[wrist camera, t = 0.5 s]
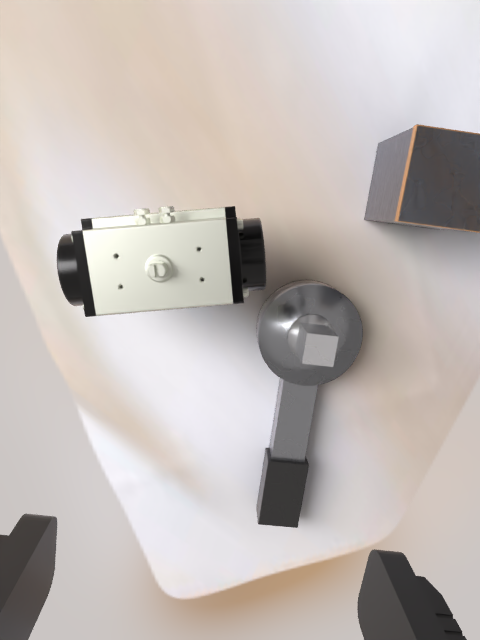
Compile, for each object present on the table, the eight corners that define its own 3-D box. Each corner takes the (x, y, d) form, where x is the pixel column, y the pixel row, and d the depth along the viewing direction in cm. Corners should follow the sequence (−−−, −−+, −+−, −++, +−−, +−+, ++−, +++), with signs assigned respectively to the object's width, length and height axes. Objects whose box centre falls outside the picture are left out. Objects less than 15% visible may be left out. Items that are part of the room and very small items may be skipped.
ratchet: (263, 274, 36) (271, 286, 30) (361, 286, 36) (388, 300, 30) (231, 505, 40) (232, 554, 34) (318, 513, 41) (334, 563, 35)
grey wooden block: (377, 142, 34) (417, 124, 27) (451, 153, 34) (508, 137, 27) (363, 219, 35) (397, 221, 28) (434, 229, 35) (484, 233, 28)
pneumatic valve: (256, 275, 36) (271, 305, 24) (108, 287, 35) (51, 324, 24) (250, 203, 34) (264, 197, 23) (97, 216, 34) (31, 217, 22)
